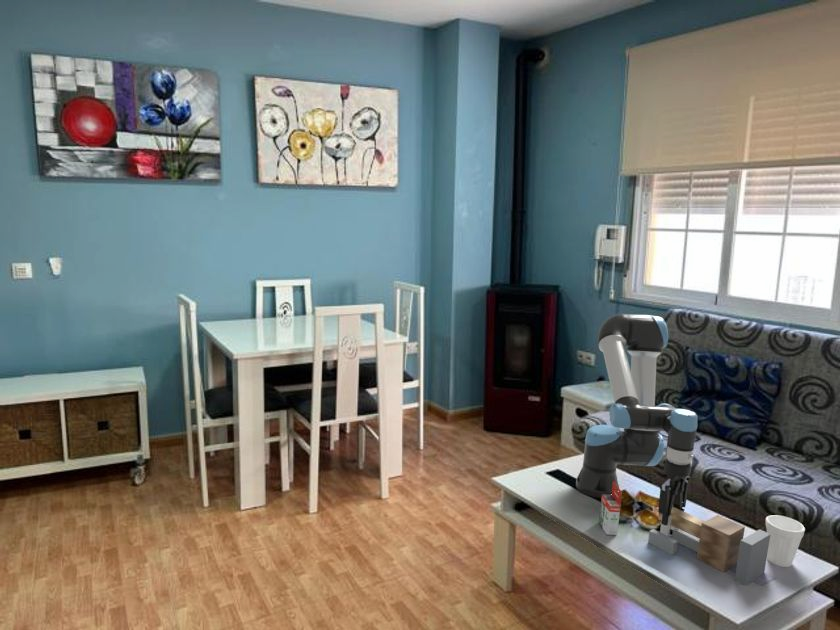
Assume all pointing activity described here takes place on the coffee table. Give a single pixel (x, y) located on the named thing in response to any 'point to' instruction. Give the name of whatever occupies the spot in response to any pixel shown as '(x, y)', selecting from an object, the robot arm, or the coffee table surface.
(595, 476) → the robot arm
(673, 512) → the bar
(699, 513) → the coffee table surface
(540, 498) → the coffee table surface
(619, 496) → the ink box
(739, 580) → the base
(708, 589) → the coffee table surface
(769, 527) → the cup
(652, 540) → the pedestal
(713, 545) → the block
